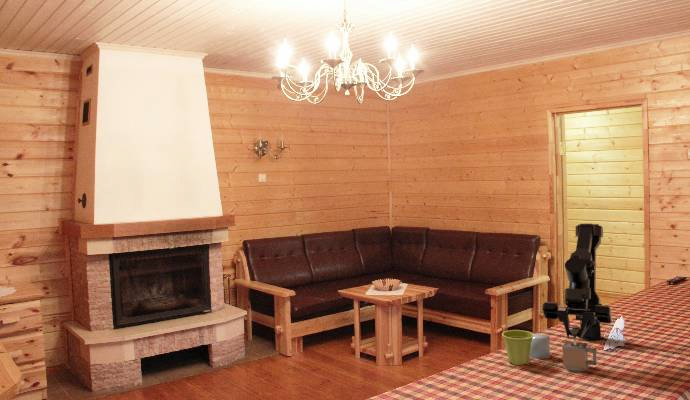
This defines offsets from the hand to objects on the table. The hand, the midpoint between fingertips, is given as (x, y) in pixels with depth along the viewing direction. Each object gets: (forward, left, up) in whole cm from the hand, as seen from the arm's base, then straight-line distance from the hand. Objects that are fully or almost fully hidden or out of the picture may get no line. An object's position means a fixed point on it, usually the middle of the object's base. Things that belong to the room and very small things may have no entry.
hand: (574, 337), depth 170 cm
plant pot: (-12, -11, -10) cm, 19 cm away
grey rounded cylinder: (-15, -2, -9) cm, 18 cm away
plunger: (-1, +1, -7) cm, 7 cm away
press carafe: (0, +2, -9) cm, 10 cm away
